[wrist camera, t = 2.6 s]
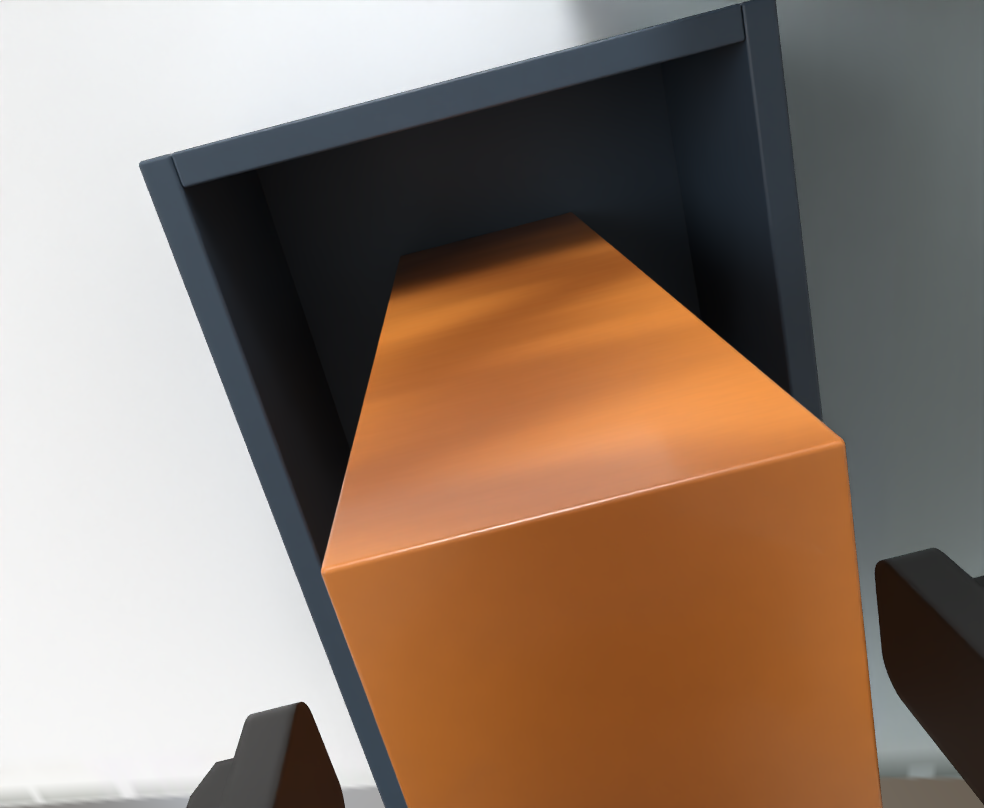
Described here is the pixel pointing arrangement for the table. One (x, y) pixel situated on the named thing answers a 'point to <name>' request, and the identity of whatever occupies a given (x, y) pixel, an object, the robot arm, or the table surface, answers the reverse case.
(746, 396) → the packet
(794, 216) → the tote
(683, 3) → the table surface
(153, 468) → the table surface
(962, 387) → the table surface
